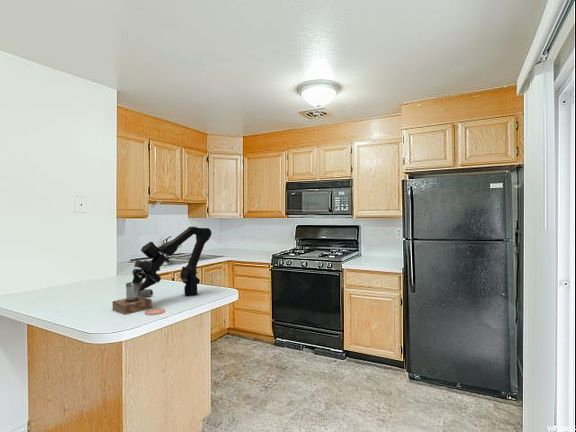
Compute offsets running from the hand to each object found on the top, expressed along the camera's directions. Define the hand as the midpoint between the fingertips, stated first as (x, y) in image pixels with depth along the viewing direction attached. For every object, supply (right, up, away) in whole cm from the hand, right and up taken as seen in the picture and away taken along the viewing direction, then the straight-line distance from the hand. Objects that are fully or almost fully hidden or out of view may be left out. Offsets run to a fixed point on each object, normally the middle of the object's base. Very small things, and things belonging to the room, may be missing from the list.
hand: (135, 289), depth 168 cm
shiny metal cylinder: (-1, -9, -1) cm, 9 cm away
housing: (-1, -9, -1) cm, 9 cm away
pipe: (-7, -9, +23) cm, 26 cm away
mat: (+13, -9, -8) cm, 18 cm away
